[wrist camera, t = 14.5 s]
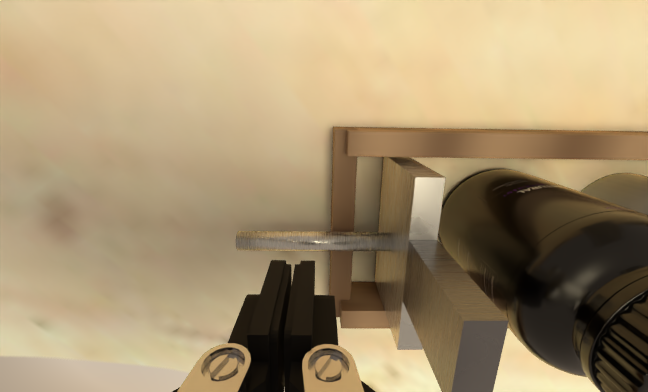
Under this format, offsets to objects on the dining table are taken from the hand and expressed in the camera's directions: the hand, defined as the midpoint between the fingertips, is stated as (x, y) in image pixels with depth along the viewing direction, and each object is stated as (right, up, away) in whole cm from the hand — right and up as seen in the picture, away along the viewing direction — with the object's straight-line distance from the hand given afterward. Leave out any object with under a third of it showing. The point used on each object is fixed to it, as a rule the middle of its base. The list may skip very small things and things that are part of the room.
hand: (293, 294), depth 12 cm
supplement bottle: (+12, +2, +8) cm, 14 cm away
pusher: (+1, +2, +7) cm, 8 cm away
